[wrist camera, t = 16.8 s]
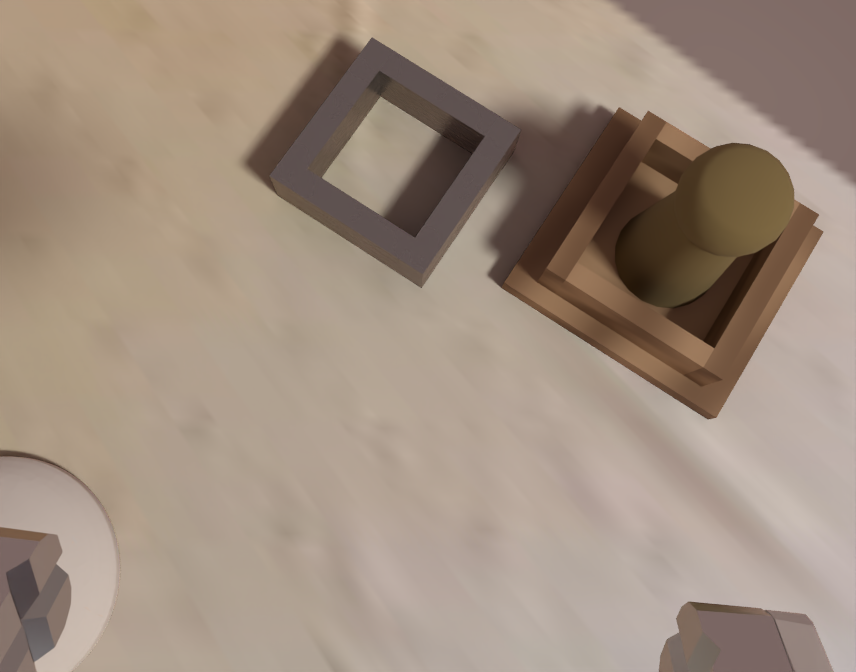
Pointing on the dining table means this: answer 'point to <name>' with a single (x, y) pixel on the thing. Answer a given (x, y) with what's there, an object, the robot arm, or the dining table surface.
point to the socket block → (424, 101)
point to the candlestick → (66, 548)
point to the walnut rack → (623, 311)
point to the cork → (705, 225)
